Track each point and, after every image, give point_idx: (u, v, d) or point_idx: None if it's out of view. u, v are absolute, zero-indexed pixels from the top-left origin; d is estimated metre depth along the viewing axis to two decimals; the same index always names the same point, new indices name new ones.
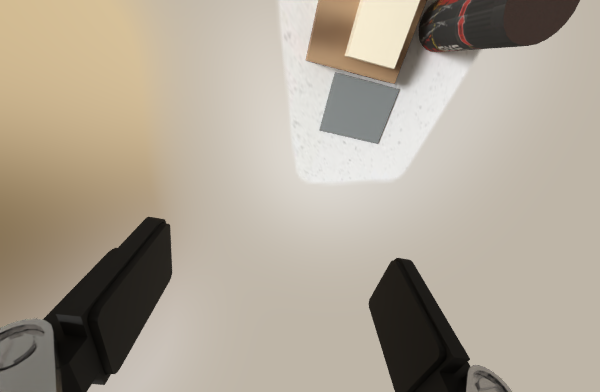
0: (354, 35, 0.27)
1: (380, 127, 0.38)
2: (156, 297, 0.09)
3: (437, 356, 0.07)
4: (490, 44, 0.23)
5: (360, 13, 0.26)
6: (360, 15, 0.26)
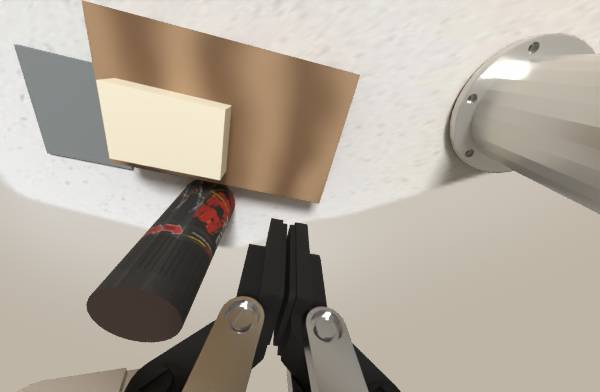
0: (127, 88, 0.17)
1: (72, 153, 0.25)
2: None
3: (289, 299, 0.07)
4: None
5: (158, 95, 0.17)
6: (155, 95, 0.17)
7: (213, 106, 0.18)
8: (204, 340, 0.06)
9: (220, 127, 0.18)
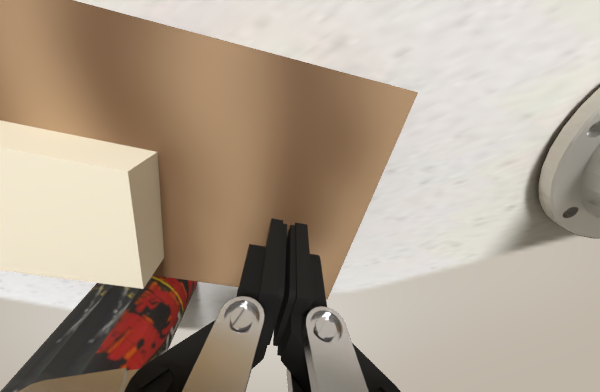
0: None
1: None
2: None
3: (289, 299, 0.07)
4: None
5: None
6: None
7: (102, 163, 0.08)
8: (204, 340, 0.06)
9: (125, 203, 0.09)
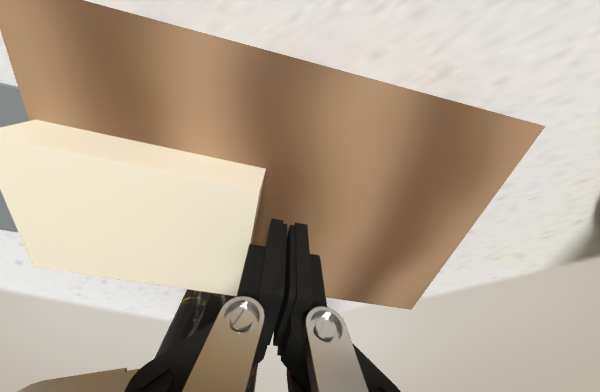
0: (50, 150, 0.08)
1: None
2: None
3: (289, 299, 0.07)
4: None
5: (118, 163, 0.08)
6: (111, 164, 0.08)
7: (235, 182, 0.09)
8: (204, 340, 0.06)
9: (247, 219, 0.09)
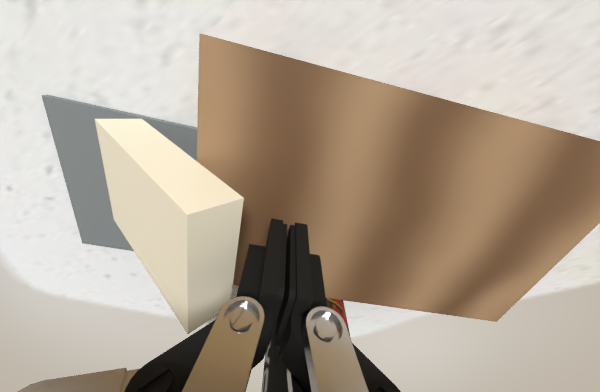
0: (109, 136, 0.10)
1: (120, 243, 0.17)
2: None
3: (289, 299, 0.07)
4: None
5: (127, 153, 0.09)
6: (124, 153, 0.09)
7: (180, 197, 0.07)
8: (204, 340, 0.06)
9: (184, 245, 0.08)
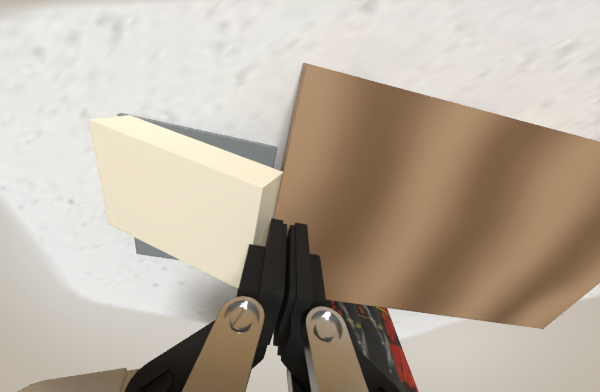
0: (123, 135, 0.10)
1: None
2: None
3: (289, 299, 0.07)
4: None
5: (162, 149, 0.10)
6: (157, 149, 0.10)
7: (244, 177, 0.09)
8: (204, 340, 0.06)
9: (252, 214, 0.10)
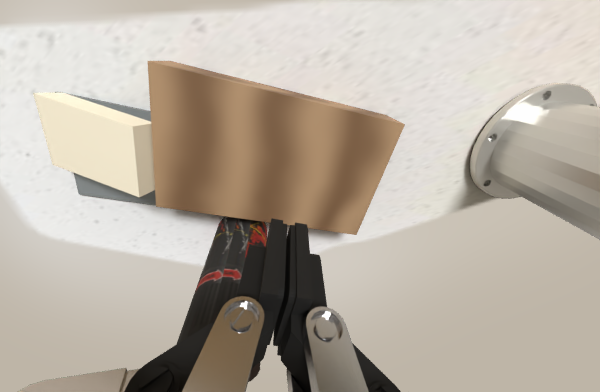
0: (55, 102, 0.18)
1: (106, 193, 0.25)
2: None
3: (289, 299, 0.07)
4: (184, 323, 0.18)
5: (78, 109, 0.18)
6: (75, 109, 0.18)
7: (124, 122, 0.17)
8: (204, 340, 0.06)
9: (131, 144, 0.18)
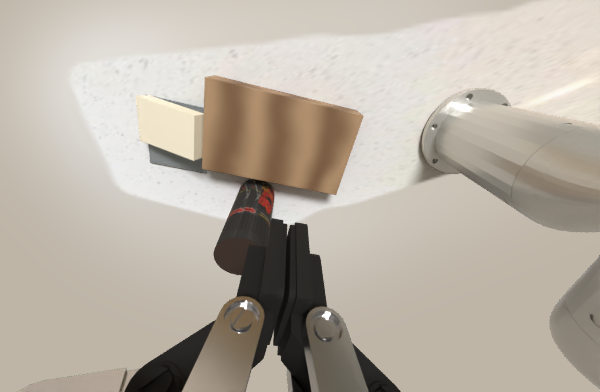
0: (148, 101, 0.30)
1: (167, 162, 0.37)
2: None
3: (289, 299, 0.07)
4: None
5: (162, 105, 0.30)
6: (160, 105, 0.30)
7: (189, 113, 0.29)
8: (204, 340, 0.06)
9: (192, 126, 0.30)
